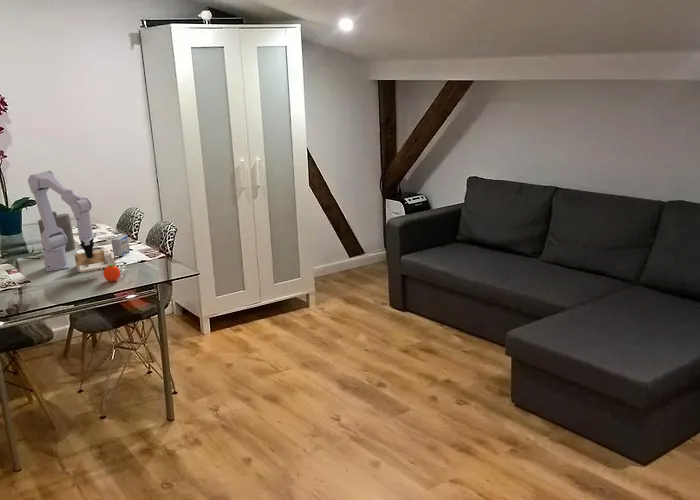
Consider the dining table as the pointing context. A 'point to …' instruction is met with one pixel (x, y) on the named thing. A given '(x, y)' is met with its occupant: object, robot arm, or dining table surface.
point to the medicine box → (120, 245)
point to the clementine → (111, 273)
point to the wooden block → (83, 260)
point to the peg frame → (98, 264)
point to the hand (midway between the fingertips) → (89, 256)
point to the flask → (64, 224)
